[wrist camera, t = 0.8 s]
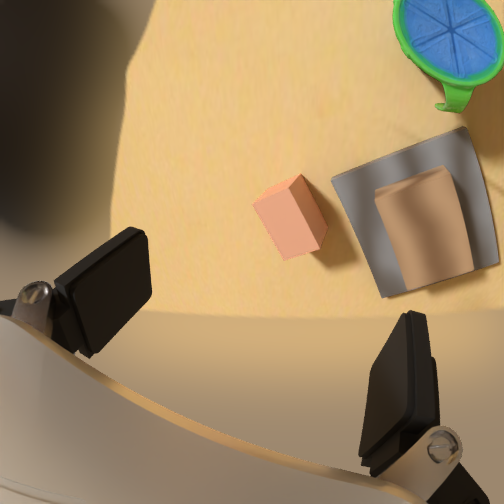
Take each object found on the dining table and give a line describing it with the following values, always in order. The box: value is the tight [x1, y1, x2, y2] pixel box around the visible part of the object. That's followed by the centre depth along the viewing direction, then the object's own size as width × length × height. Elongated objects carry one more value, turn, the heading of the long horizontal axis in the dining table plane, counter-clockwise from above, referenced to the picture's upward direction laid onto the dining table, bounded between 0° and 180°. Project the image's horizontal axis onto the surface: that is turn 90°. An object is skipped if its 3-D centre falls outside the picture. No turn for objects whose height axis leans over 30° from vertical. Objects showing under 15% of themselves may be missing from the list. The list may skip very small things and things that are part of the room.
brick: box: [252, 174, 328, 261], centre depth 38 cm, size 5×8×6 cm, turn 32°
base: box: [331, 127, 499, 298], centre depth 32 cm, size 18×18×6 cm
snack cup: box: [393, 0, 504, 113], centre depth 19 cm, size 16×10×10 cm
